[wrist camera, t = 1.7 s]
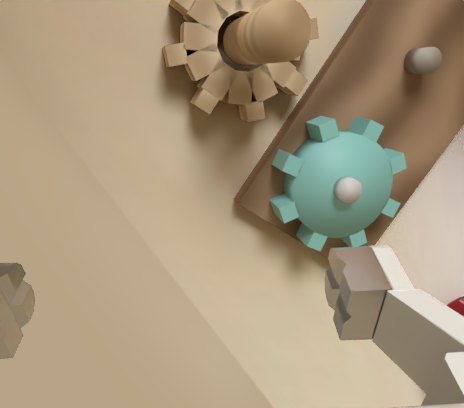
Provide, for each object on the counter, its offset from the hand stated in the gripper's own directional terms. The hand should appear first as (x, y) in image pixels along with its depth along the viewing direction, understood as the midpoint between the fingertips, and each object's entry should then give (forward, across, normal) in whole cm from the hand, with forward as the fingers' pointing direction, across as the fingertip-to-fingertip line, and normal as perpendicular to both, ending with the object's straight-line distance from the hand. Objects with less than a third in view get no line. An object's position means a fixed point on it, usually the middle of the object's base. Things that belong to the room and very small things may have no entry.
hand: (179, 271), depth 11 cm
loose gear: (+25, -3, 0) cm, 25 cm away
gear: (+22, -11, +11) cm, 26 cm away
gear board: (+25, -15, +8) cm, 30 cm away
